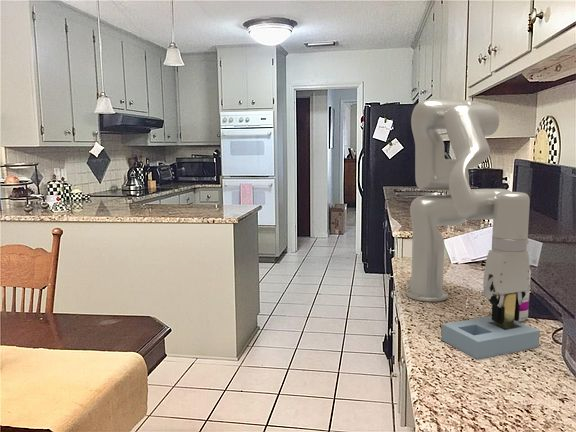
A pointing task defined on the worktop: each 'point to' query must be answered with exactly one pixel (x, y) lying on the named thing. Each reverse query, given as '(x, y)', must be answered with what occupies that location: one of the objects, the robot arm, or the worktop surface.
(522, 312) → the supplement can
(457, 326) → the block
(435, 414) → the worktop surface
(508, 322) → the yellow cylinder
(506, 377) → the worktop surface
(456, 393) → the worktop surface
